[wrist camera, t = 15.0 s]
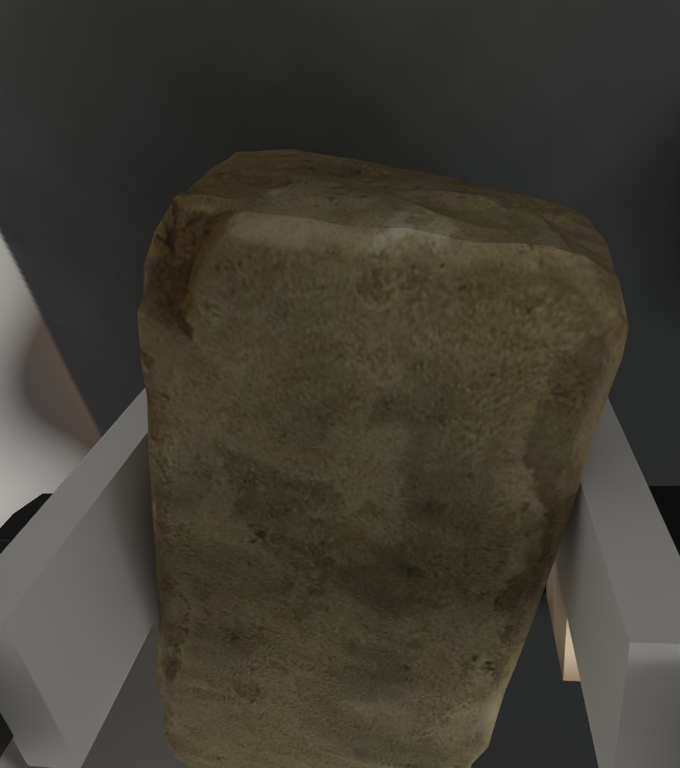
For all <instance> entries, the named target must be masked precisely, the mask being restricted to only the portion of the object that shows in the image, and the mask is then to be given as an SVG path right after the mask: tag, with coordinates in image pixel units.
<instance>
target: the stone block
mask: <svg viewBox="0 0 680 768" xmlns="http://www.w3.org/2000/svg"><path fill="white" fill-rule="evenodd" d="M137 319H138V330H139V341H140V352H141V363H142V372H143V378H144V383H145V389H146V394H147V413H148V453H149V470H150V485H151V502H152V520H153V532H154V543H155V557H156V583H157V594H158V605H159V624H158V642H157V659H156V677H157V692H158V695H159V698H160V701H161V704H162V707H163V710H164V741H166V742H167V743H168V746H169V749H170V751H171V754H172V755H173V756H175V757H176V758H177V759H179V760H180V761H182V762H183V763H184V764H186V765H188V766H189V767H191V768H471V765H472V763H473V762H474V761H475V760H476V759H477V758H478V757H479V756H480V755H481V754H482V753H483V752H484V751H485V750H486V749H487V748H488V746H489V742H490V739H491V735H492V732H493V728H494V725H495V721H496V718H497V715H498V712H499V708H500V705H501V702H502V699H503V696H504V693H505V690H506V687H507V685H508V682H509V680H510V678H511V675H512V673H513V671H514V668H515V666H516V663H517V661H518V658H519V655H520V653H521V650H522V648H523V645H524V642H525V640H526V637H527V634H528V632H529V629H530V626H531V624H532V621H533V618H534V616H535V613H536V610H537V608H538V605H539V602H540V600H541V597H542V594H543V591H544V589H545V586H546V583H547V580H548V578H549V575H550V572H551V569H552V566H553V564H554V561H555V558H556V555H557V552H558V549H559V547H560V544H561V541H562V538H563V535H564V532H565V529H566V526H567V523H568V520H569V517H570V513H571V510H572V507H573V504H574V501H575V498H576V494H577V491H578V488H579V484H580V480H581V477H582V473H583V469H584V465H585V462H586V458H587V454H588V450H589V446H590V443H591V440H592V438H593V435H594V432H595V429H596V427H597V424H598V421H599V418H600V416H601V413H602V410H603V407H604V405H605V402H606V399H607V396H608V394H609V391H610V389H611V386H612V383H613V381H614V378H615V376H616V373H617V370H618V368H619V365H620V363H621V360H622V356H623V351H624V347H625V342H626V337H627V333H628V328H629V325H628V320H627V314H626V309H625V305H624V300H623V296H622V292H621V287H620V283H619V279H618V277H617V275H616V273H615V271H614V268H613V264H612V260H611V256H610V252H609V249H608V246H607V244H606V242H605V240H604V239H603V237H602V236H601V235H600V234H599V233H598V232H597V231H596V230H595V228H594V227H593V225H592V224H591V222H590V220H589V219H588V218H587V217H586V216H585V215H583V214H581V213H580V212H578V211H575V210H573V209H570V208H568V207H565V206H563V205H561V204H559V203H556V202H552V201H549V200H547V199H544V198H541V197H537V196H533V195H528V194H524V193H519V192H515V191H510V190H506V189H501V188H496V187H491V186H487V185H482V184H477V183H472V182H468V181H463V180H459V179H454V178H449V177H445V176H440V175H435V174H430V173H425V172H419V171H414V170H408V169H402V168H397V167H392V166H387V165H383V164H379V163H375V162H369V161H364V160H359V159H353V158H344V157H336V156H330V155H323V154H316V153H311V152H307V151H302V150H297V149H283V150H266V151H240V152H235V153H234V154H233V155H232V156H231V157H230V158H228V159H227V160H225V161H223V162H221V163H219V164H217V165H216V166H215V167H213V168H211V169H209V170H208V171H207V172H206V174H205V176H204V177H202V178H201V179H200V180H198V181H197V182H195V183H194V184H192V185H191V186H190V187H189V189H188V190H187V191H185V192H183V193H181V194H179V195H177V196H175V198H174V199H173V201H172V203H171V204H170V206H169V208H168V209H167V211H166V213H165V215H164V216H163V218H162V220H161V221H160V223H159V225H158V226H157V228H156V230H155V232H154V235H153V238H152V242H151V245H150V248H149V251H148V254H147V258H146V261H145V264H144V294H143V297H142V300H141V303H140V306H139V309H138V313H137Z"/></svg>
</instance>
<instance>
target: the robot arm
mask: <svg viewBox="0 0 680 768" xmlns="http://www.w3.org/2000/svg"><path fill="white" fill-rule="evenodd" d="M555 562H556V567H557V572H558V577H559V581H560V586H561V591H562V596H563V600H564V605H565V610H566V615H567V619H568V624H569V629H570V634H571V638H572V643H573V648H574V653H575V657H576V662H577V667H578V672H579V676H580V681H581V686H582V691H583V695H584V700H585V705H586V710H587V714H588V719H589V724H590V729H591V733H592V738H593V743H594V748H595V752H596V757H597V762H598V767H599V768H680V486H648V485H647V483H646V481H645V479H644V476H643V474H642V472H641V470H640V468H639V465H638V463H637V461H636V459H635V457H634V455H633V452H632V450H631V448H630V446H629V444H628V441H627V439H626V437H625V435H624V433H623V430H622V428H621V426H620V424H619V422H618V419H617V417H616V415H615V413H614V411H613V408H612V406H611V404H610V402H609V400H608V397H607V399H606V402H605V405H604V407H603V410H602V413H601V416H600V418H599V421H598V424H597V427H596V429H595V432H594V435H593V438H592V440H591V443H590V446H589V450H588V454H587V458H586V462H585V465H584V469H583V473H582V477H581V480H580V484H579V488H578V491H577V494H576V498H575V501H574V504H573V507H572V510H571V513H570V517H569V520H568V523H567V526H566V529H565V532H564V535H563V538H562V541H561V544H560V547H559V549H558V552H557V555H556V558H555ZM158 613H159V605H158V594H157V583H156V557H155V543H154V532H153V520H152V502H151V485H150V470H149V453H148V413H147V394H146V389H145V388H144V389H143V391H142V392H141V393H140V394H139V395H138V396H137V397H136V399H135V400H134V401H133V402H132V403H131V404H130V405H129V407H128V408H127V409H126V410H125V411H124V412H123V414H122V415H121V416H120V417H119V418H118V419H117V420H116V422H115V423H114V424H113V425H112V426H111V427H110V429H109V430H108V431H107V432H106V433H105V434H104V435H103V437H102V438H101V439H100V440H99V441H98V442H97V443H96V445H95V446H94V447H93V448H92V449H91V450H90V452H89V453H88V454H87V455H86V456H85V457H84V458H83V460H82V461H81V462H80V463H79V464H78V465H77V467H76V468H75V469H74V470H73V471H72V472H71V473H70V475H69V476H68V477H67V478H66V479H65V480H64V482H63V483H62V484H61V485H60V486H59V487H58V488H57V490H56V491H55V492H54V493H53V494H42V495H40V496H39V497H37V498H36V499H34V500H33V501H31V502H30V503H28V504H27V505H26V506H24V507H23V508H21V509H20V510H18V511H17V512H15V513H14V514H13V515H12V516H11V517H10V518H9V519H8V520H7V521H6V522H5V524H4V525H3V526H2V527H1V528H0V757H1V755H2V754H3V752H4V751H5V749H6V747H7V746H8V744H9V743H10V741H11V739H12V738H13V740H14V742H15V744H16V745H17V747H18V749H19V750H20V752H21V754H22V756H23V758H24V759H25V761H26V763H27V765H29V766H41V767H53V768H81V766H82V764H83V762H84V760H85V758H86V756H87V754H88V752H89V751H90V749H91V746H92V744H93V743H94V741H95V739H96V736H97V734H98V732H99V730H100V729H101V727H102V725H103V722H104V721H105V719H106V717H107V715H108V713H109V711H110V708H111V707H112V705H113V703H114V701H115V699H116V697H117V695H118V692H119V691H120V689H121V687H122V685H123V682H124V681H125V679H126V677H127V675H128V673H129V671H130V669H131V667H132V665H133V663H134V661H135V659H136V657H137V654H138V653H139V651H140V649H141V647H142V645H143V643H144V641H145V639H146V637H147V635H148V633H149V631H150V629H151V627H152V625H153V623H154V621H155V619H156V617H157V615H158Z"/></svg>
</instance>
